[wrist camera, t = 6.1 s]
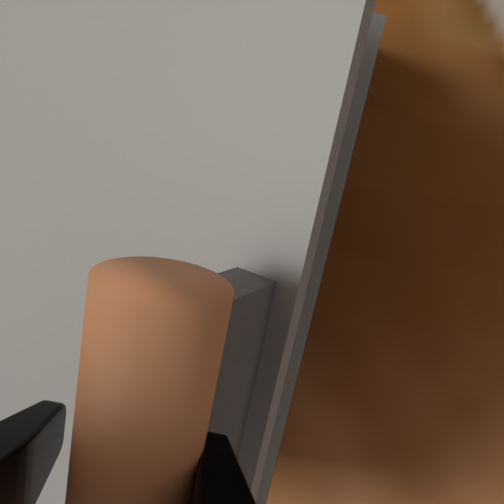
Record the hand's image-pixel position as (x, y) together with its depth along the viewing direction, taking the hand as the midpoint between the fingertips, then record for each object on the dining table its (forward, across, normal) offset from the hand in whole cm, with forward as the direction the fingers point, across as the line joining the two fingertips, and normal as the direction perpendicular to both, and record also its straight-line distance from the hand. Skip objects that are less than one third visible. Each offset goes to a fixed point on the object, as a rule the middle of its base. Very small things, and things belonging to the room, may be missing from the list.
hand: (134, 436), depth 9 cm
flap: (+5, +2, 0) cm, 5 cm away
